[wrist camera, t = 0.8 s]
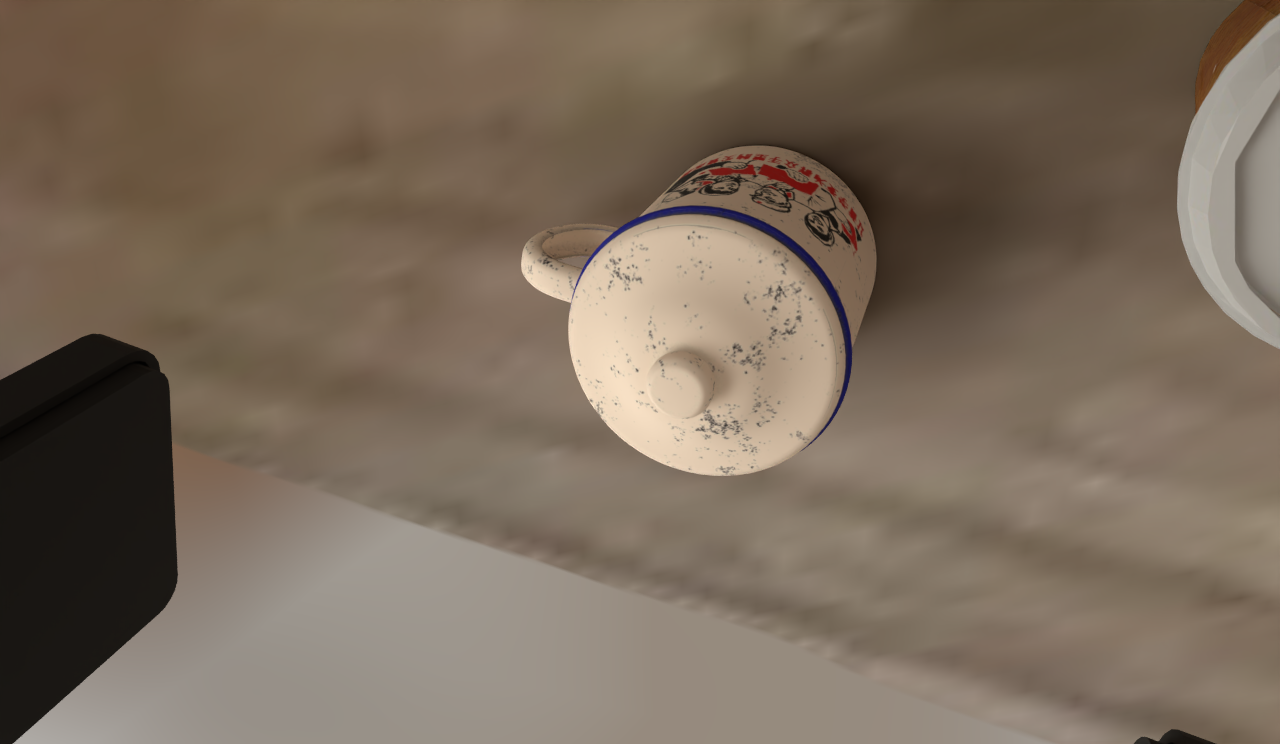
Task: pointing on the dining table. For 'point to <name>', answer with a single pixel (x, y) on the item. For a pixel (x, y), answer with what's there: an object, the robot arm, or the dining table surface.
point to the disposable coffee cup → (1237, 170)
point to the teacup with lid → (718, 310)
